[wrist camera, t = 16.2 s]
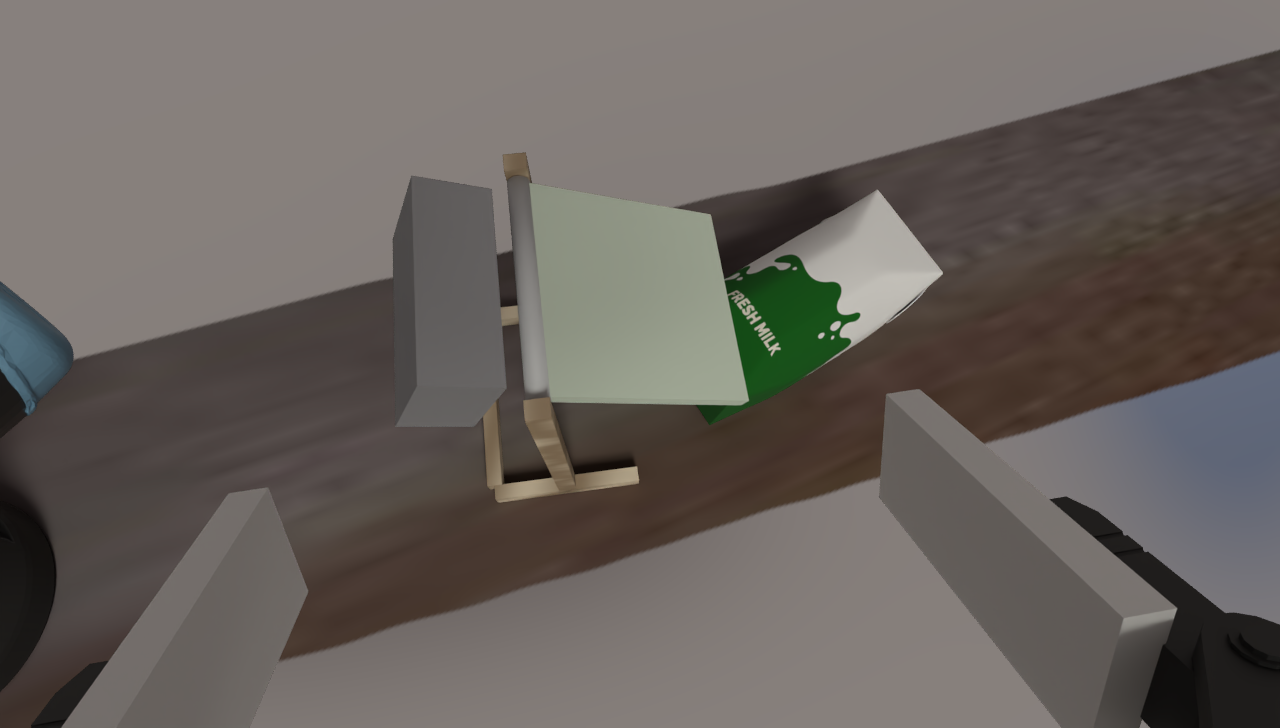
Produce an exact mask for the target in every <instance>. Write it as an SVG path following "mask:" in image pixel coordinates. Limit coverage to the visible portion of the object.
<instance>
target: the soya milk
mask: <svg viewBox="0 0 1280 728" xmlns="http://www.w3.org/2000/svg"><path fill="white" fill-rule="evenodd" d="M942 274H943V272H942V271H941V270H940V268H939V267H938V266H937V264H936V263H935V262H934V261H933V259H932V258H931V257H930V256H929V254H928V253H927V252H926V250H925V249H924V248H923V247H922V245H921V244H920V243H919V242H918V240H917V239H916V238H915V236H914V235H913V234H912V233H911V231H910V230H909V229H908V227H907V226H906V225H905V224H904V222H903V221H902V220H901V219H900V217H899V216H898V215H897V213H896V212H895V211H894V210H893V208H892V207H891V206H890V205H889V203H888V202H887V201H886V199H885V198H884V197H883V196H882V194H881V193H880V192H879V191H878V190H876V191H874V192H873V193H871V194H870V195H868V196H866V197H865V198H863V199H861V200H860V201H858V202H856V203H855V204H853V205H851V206H850V207H848V208H846V209H845V210H843V211H841V212H839V213H838V214H836V215H834V216H832V217H829V218H827V219H825V220H823V221H822V222H821V223H820V224H819V225H817V226H815V227H813V228H811V229H809V230H807V231H806V232H804V233H802V234H800V235H798V236H797V237H795V238H793V239H792V240H790V241H788V242H786V243H785V244H783V245H781V246H780V247H778V248H776V249H774V250H773V251H771V252H769V253H768V254H766V255H764V256H762V257H761V258H759V259H757V260H755V261H754V262H752V263H750V264H749V265H747V266H745V267H743V268H742V269H740V270H738V271H737V272H735V273H733V274H732V275H730V276H728V277H727V278H725V279H724V281H725V286H726V291H727V296H728V301H729V306H730V311H731V315H732V320H733V325H734V330H735V335H736V340H737V345H738V350H739V354H740V359H741V364H742V369H743V374H744V379H745V384H746V388H747V393H748V398H749V401H748V402H746V403H744V404H742V405H697V407H698V408H699V410H700V411H701V413H702V414H703V416H704V417H705V419H706V420H707V422H708V424H709V425H711V424H713V423H715V422H717V421H720V420H722V419H724V418H726V417H728V416H730V415H732V414H735V413H737V412H739V411H741V410H743V409H746V408H748V407H750V406H752V405H755V404H757V403H759V402H762V401H764V400H766V399H768V398H770V397H772V396H774V395H776V394H777V393H779V392H781V391H783V390H784V389H786V388H788V387H789V386H791V385H793V384H794V383H796V382H797V381H799V380H801V379H802V378H804V377H805V376H807V375H808V374H810V373H812V372H813V371H815V370H816V369H818V368H819V367H821V366H823V365H824V364H826V363H827V362H829V361H830V360H832V359H834V358H835V357H837V356H838V355H840V354H841V353H843V352H844V351H846V350H848V349H849V348H851V347H852V346H854V345H855V344H857V343H859V342H860V341H862V340H863V339H865V338H866V337H867V336H869V335H870V334H872V333H873V332H874V331H876V330H877V329H878V328H880V327H881V326H882V325H883V324H884V323H886V322H887V321H888V320H889V319H891V318H892V319H891V320H890V321H892V320H893V319H894V318H896V317H897V316H898V315H900V314H901V313H902V312H903V311H905V310H906V309H907V308H908V307H909V306H910V305H912V304H913V303H914V302H915V301H916V300H917V299H918V298H919V297H920V296H921V295H922V294H923V293H924V291H925V290H926V289H927V287H928V286H930V285H931V284H932V283H933V282H934V281H935V280H937V279H938V278H939V277H940V276H941V275H942ZM890 321H888V322H887V323H889V322H890Z"/></svg>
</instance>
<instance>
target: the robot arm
mask: <svg viewBox="0 0 1280 728" xmlns="http://www.w3.org/2000/svg"><path fill="white" fill-rule="evenodd" d="M72 363H73V349H72V346H71V344H70V343H69V341H68V340H67V338H66V337H65V336H64V335H63V334H62V333H61V332H60V331H59V330H58V329H57V328H56V327H54V326H53V325H52V324H51V323H50V322H49V321H48V320H46V319H45V318H44V317H43V316H42V315H41V314H39V313H38V312H37V311H36V310H35V309H34V308H32V307H31V306H30V305H29V304H27V303H26V302H25V301H24V300H23V299H21V298H20V297H19V296H18V295H16V294H15V293H14V292H13V291H12V290H10V289H9V288H8V287H7V286H5V285H4V284H3V283H2V282H0V438H1V437H2V436H4V435H5V434H6V433H7V432H8V431H9V430H10V429H12V428H13V427H14V426H15V425H16V424H17V423H19V422H20V421H21V420H22V419H23V418H24V417H26V416H27V415H30V414H31V413H33V412H34V411H35V409H36V407H37V403H38V402H39V401H40V400H41V399H42V398H43V397H44V396H45V395H46V394H47V393H48V392H49V391H50V390H51V389H52V388H53V387H54V386H55V385H56V384H57V383H58V382H59V381H60V380H61V379H62V378H63V377H64V376H65V375H66V374H67V372H68V371H69V369H70V368H71V366H72ZM879 498H880V499H881V500H882V502H883V503H884V504H885V505H886V507H887V508H888V509H889V510H890V512H891V513H892V514H893V515H894V517H895V518H896V519H897V521H898V522H899V523H900V524H901V526H902V527H903V528H904V529H905V531H906V532H907V533H908V534H909V536H910V537H911V538H912V539H913V541H914V542H915V543H916V544H917V546H918V547H919V548H920V550H921V551H922V552H923V553H924V555H925V556H926V557H927V558H928V560H929V561H930V562H931V563H932V565H933V566H934V567H935V569H936V570H937V571H938V572H939V574H940V575H941V576H942V577H943V579H944V580H945V581H946V582H947V584H948V585H949V586H950V587H951V589H952V590H953V591H954V592H955V594H956V595H957V596H958V598H959V599H960V600H961V601H962V603H963V604H964V605H965V606H966V608H967V609H968V610H969V611H970V613H971V614H972V615H973V616H974V618H975V619H976V620H977V622H979V624H980V625H981V626H982V628H983V629H984V630H985V632H986V633H987V634H988V636H989V637H990V638H991V639H992V640H993V642H994V643H995V644H996V646H997V647H998V648H999V649H1000V651H1001V652H1002V653H1003V655H1004V656H1005V657H1006V658H1007V660H1008V661H1009V662H1010V663H1011V665H1012V666H1013V667H1014V668H1015V670H1016V671H1017V672H1018V673H1019V675H1020V676H1021V677H1022V678H1023V680H1024V681H1025V682H1026V684H1027V685H1028V686H1029V687H1030V689H1031V690H1032V691H1033V692H1034V694H1035V695H1036V696H1037V697H1038V699H1039V700H1040V701H1041V703H1042V704H1043V705H1044V706H1045V708H1046V709H1047V710H1048V711H1049V713H1050V714H1051V715H1052V716H1053V718H1054V719H1055V720H1056V721H1057V723H1058V724H1059V725H1060V726H1061V728H1139V727H1140V724H1141V721H1142V719H1143V720H1144V722H1145V723H1146V724H1147V725H1148V726H1149V727H1150V728H1280V625H1279V624H1276V623H1274V622H1271V621H1268V620H1265V619H1262V618H1260V617H1257V616H1251V615H1245V614H1239V613H1224V612H1223V611H1222V610H1220V609H1219V608H1218V607H1216V605H1214V604H1213V603H1212V602H1211V601H1209V600H1208V599H1207V598H1206V597H1204V596H1203V595H1202V594H1200V593H1199V592H1198V591H1197V590H1195V589H1194V588H1193V587H1192V586H1190V585H1189V584H1188V583H1187V582H1185V581H1184V580H1183V579H1181V578H1180V577H1179V576H1178V575H1177V574H1175V573H1174V572H1172V570H1170V569H1169V568H1168V567H1167V566H1165V565H1164V564H1163V563H1162V562H1160V561H1159V560H1158V559H1157V558H1155V557H1154V556H1153V555H1151V554H1150V553H1149V552H1144V551H1143V547H1141V546H1140V545H1139V544H1137V542H1135V541H1134V540H1133V539H1131V538H1130V537H1129V536H1128V535H1126V536H1124V535H1123V532H1122V531H1121V530H1120V529H1119V528H1117V527H1116V526H1115V525H1114V524H1113V523H1111V522H1110V521H1109V520H1108V519H1106V518H1105V517H1104V516H1102V515H1101V514H1100V513H1099V512H1097V511H1095V510H1093V509H1091V508H1089V507H1087V506H1085V505H1083V504H1081V503H1078V502H1076V501H1074V500H1072V499H1070V498H1068V497H1061V498H1055V499H1048V498H1047V497H1046V496H1044V495H1043V494H1042V493H1041V492H1040V491H1039V490H1037V489H1036V488H1035V487H1034V486H1033V485H1032V484H1030V483H1029V482H1028V481H1027V480H1026V479H1024V478H1023V477H1022V476H1021V475H1020V474H1018V473H1017V472H1016V471H1015V470H1014V469H1013V468H1011V467H1010V466H1009V465H1008V464H1006V462H1004V461H1003V460H1002V459H1001V458H1000V457H999V456H997V455H996V454H995V453H994V452H993V451H992V450H990V449H989V448H988V447H987V446H986V445H984V444H983V443H982V442H981V441H980V440H979V439H977V438H976V437H975V436H974V435H973V434H972V433H970V432H969V431H968V430H967V429H966V428H964V427H963V426H962V425H961V424H960V423H959V422H957V421H956V420H955V419H954V418H953V417H951V416H950V415H949V414H948V413H947V412H946V411H944V410H943V409H942V408H941V407H940V406H939V405H937V404H936V403H935V402H934V401H933V400H931V399H930V398H929V397H928V396H927V395H926V394H924V393H923V392H922V391H921V390H920V389H917V390H910V391H904V392H897V393H891V394H886V405H885V419H884V434H883V449H882V463H881V478H880V493H879ZM54 581H55V575H54V563H53V558H52V553H51V550H50V547H49V545H48V542H47V540H46V538H45V536H44V534H43V532H42V531H41V529H40V528H39V527H38V525H37V524H36V523H35V522H34V521H33V520H32V519H31V518H30V517H29V516H28V515H27V514H25V513H24V512H23V511H21V510H20V509H18V508H16V507H15V506H13V505H11V504H8V503H6V502H3V501H0V691H1V690H2V689H3V688H4V687H5V686H6V685H7V684H8V683H9V682H10V681H11V680H12V679H13V677H14V676H15V675H16V674H17V673H18V671H19V670H20V669H21V667H22V666H23V665H24V663H25V662H26V660H27V659H28V657H29V656H30V654H31V653H32V651H33V649H34V647H35V646H36V644H37V642H38V640H39V638H40V636H41V634H42V632H43V629H44V627H45V624H46V622H47V619H48V616H49V612H50V608H51V605H52V599H53V593H54ZM307 593H308V590H307V587H306V584H305V582H304V579H303V577H302V574H301V571H300V569H299V566H298V564H297V561H296V559H295V556H294V553H293V551H292V548H291V546H290V543H289V540H288V538H287V535H286V533H285V530H284V527H283V525H282V522H281V520H280V517H279V514H278V512H277V509H276V507H275V504H274V501H273V499H272V496H271V494H270V491H269V488H261V489H255V490H248V491H241V492H235V493H229V494H228V495H227V497H226V498H225V499H224V501H223V502H222V504H221V505H220V506H219V508H218V509H217V511H216V512H215V513H214V515H213V516H212V518H211V519H210V520H209V522H208V523H207V525H206V526H205V527H204V529H203V530H202V532H201V533H200V534H199V536H198V537H197V539H196V540H195V541H194V543H193V544H192V546H191V547H190V548H189V550H188V551H187V553H186V554H185V555H184V557H183V558H182V559H181V561H180V562H179V564H178V565H177V566H176V568H175V569H174V571H173V572H172V573H171V575H170V576H169V578H168V579H167V580H166V582H165V583H164V585H163V586H162V587H161V589H160V590H159V592H158V593H157V594H156V596H155V597H154V599H153V600H152V601H151V603H150V604H149V606H148V607H147V608H146V610H145V611H144V613H143V614H142V615H141V617H140V618H139V620H138V621H137V622H136V624H135V625H134V627H133V628H132V629H131V631H130V632H129V634H128V635H127V636H126V638H125V639H124V641H123V642H122V643H121V645H120V646H119V648H118V649H117V650H116V652H115V653H114V655H113V656H112V657H111V659H110V660H109V661H104V662H99V663H93V664H89V665H88V666H87V667H86V668H85V669H83V670H82V671H81V672H80V673H79V674H78V675H76V676H75V677H74V678H73V679H72V680H71V681H69V682H68V683H67V684H66V685H65V686H64V687H62V688H61V689H60V690H59V691H58V692H57V693H55V695H54V696H53V697H52V699H51V700H50V701H49V703H48V704H47V705H46V706H45V708H44V709H43V710H42V712H41V713H40V714H39V716H38V717H37V718H36V720H35V721H34V722H33V723H32V725H31V728H250V725H251V723H252V721H253V719H254V716H255V714H256V711H257V709H258V707H259V705H260V702H261V700H262V698H263V695H264V693H265V691H266V688H267V686H268V684H269V681H270V679H271V677H272V674H273V672H274V670H275V668H276V665H277V663H278V661H279V658H280V656H281V654H282V651H283V649H284V647H285V644H286V642H287V640H288V637H289V635H290V633H291V630H292V628H293V626H294V624H295V621H296V619H297V617H298V614H299V612H300V610H301V607H302V605H303V603H304V600H305V598H306V596H307Z"/></svg>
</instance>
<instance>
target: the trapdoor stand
mask: <svg viewBox="0 0 1280 728" xmlns="http://www.w3.org/2000/svg"><path fill="white" fill-rule="evenodd" d="M503 163H504V172H505V176H506V180H507V181H508V179H509V178H511V177H513V176H524V177H527V178H528V179H529V181H530V183H532V181H531V176H530V171H529V166H528V162H527V156H526V153H515V154H505V155H503ZM501 320H502V326H506V325H515V324H519V317H518V306H510V307H501ZM523 403H524V415H525V422H526V424H527V426H528V429H529V431H530V433H531V435H532V437H533V439H534V441H535V443H536V445H537V447H538V449H539V451H540V453H541V455H542V457H543V459H544V461H545V463H546V465H547V467H548V469H549V471H550V473H551V475H552V477H553V478H546V479H539V480H531V481H524V482H516V483H509V484H504V471H503V456H502V442H501V428H500V414H499V399H497V400H496V401H495V403H494V404H493V405H492V406H491V407H490V408H489V410H488V411H487V412H486V413H485V414H484V416H483V422H484V438H485V454H486V471H487V486H488V487H489V488H490V489H495V498H496V501H498V502H506V501H513V500H521V499H528V498H536V497H543V496H550V495H558V494H565V493H573V492H580V491H587V490H595V489H602V488H610V487H617V486H624V485H632V484H638V483H639V478H638V471H637V466H636V467H629V468H621V469H614V470H606V471H599V472H591V473H584V474H576V475H575V474H574V470H573V467H572V464H571V461H570V458H569V455H568V452H567V449H566V446H565V443H564V440H563V437H562V434H561V430H560V427H559V424H558V421H557V418H556V415H555V412H554V409H553V406H552V403H551V400H550V397H546V398H538V399H530V400H523Z"/></svg>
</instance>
